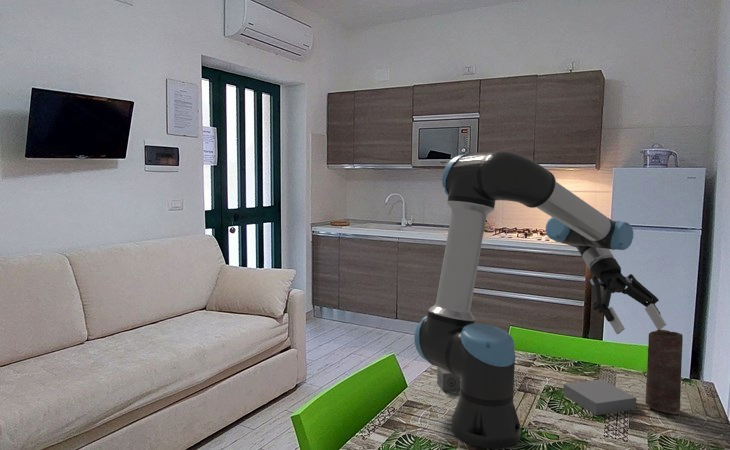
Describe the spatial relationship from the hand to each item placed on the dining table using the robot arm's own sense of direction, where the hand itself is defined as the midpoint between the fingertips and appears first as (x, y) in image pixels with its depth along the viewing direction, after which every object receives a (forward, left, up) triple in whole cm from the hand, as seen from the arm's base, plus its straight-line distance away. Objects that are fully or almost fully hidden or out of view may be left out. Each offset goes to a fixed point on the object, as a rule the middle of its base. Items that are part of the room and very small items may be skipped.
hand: (641, 329), depth 127 cm
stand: (-13, 0, -18) cm, 22 cm away
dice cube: (-46, +19, -18) cm, 53 cm away
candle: (-1, -8, -18) cm, 20 cm away
